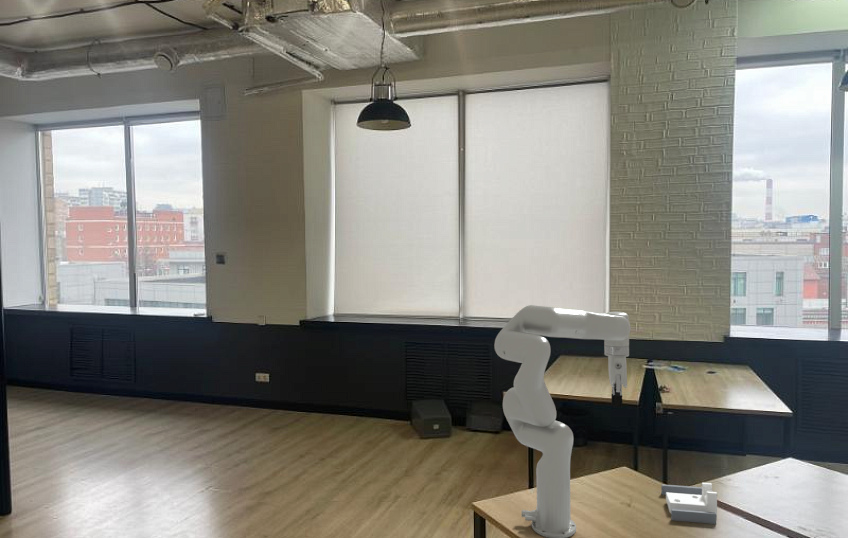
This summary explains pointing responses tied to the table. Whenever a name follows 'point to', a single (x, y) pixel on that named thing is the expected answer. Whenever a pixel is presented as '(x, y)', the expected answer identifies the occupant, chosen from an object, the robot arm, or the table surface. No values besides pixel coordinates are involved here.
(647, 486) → the table surface
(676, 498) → the bracket
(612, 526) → the table surface
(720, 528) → the table surface
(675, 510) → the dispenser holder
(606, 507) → the table surface
